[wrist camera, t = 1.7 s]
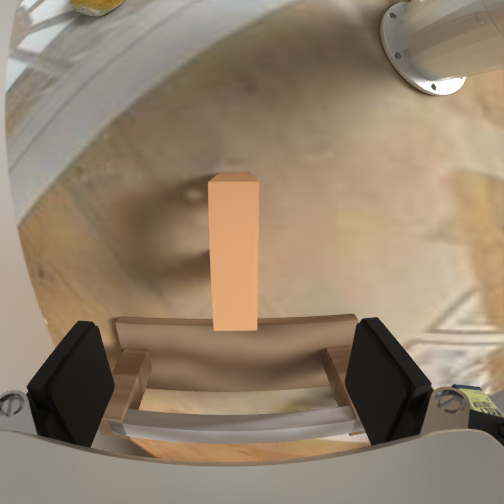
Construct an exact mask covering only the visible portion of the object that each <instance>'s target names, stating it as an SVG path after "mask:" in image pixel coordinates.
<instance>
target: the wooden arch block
mask: <svg viewBox="0 0 504 504" xmlns="http://www.w3.org/2000/svg"><path fill="white" fill-rule="evenodd" d="M208 209H209V244H210V270H211V291H212V310H213V327H214V331H253V330H257V312H258V241H259V181H258V180H257V179H256V178H255V177H254V176H253V175H252V174H251V173H218V174H217V175H216V176H215V177H214V178H212V179H211V180H210V181H209V182H208Z"/></svg>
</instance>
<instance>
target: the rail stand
mask: <svg viewBox="0 0 504 504" xmlns="http://www.w3.org/2000/svg"><path fill="white" fill-rule="evenodd" d="M357 323H358V319H357V317H356V316H355V315H354V314H347V315H332V316H315V317H294V318H265V319H257V330H253V331H214V327H213V319H165V318H136V317H119V318H118V319H117V321H116V322H115V324H116V329H117V333H118V337H119V341H120V346H121V349H122V354H121V356H120V358H119V360H118V362H117V364H116V366H115V368H114V370H113V372H112V376H113V380H114V384H115V388H114V392H113V394H112V396H111V399H110V401H109V403H108V406H107V408H106V410H105V413H104V415H103V418H102V420H101V423H100V425H99V427H98V428H99V430H100V432H101V434H102V435H108V436H112V437H118V438H124V439H129V438H130V437H136V438H144V439H152V440H162V441H173V442H187V443H210V444H247V443H270V442H284V441H296V440H305V439H314V438H322V437H329V436H335V435H342V434H347V433H349V435H350V436H352V435H357V434H362V433H366V431H365V429H364V427H363V425H362V423H361V420H360V418H359V416H358V414H357V412H356V409H355V407H354V405H353V403H352V401H351V399H350V396H349V394H348V392H347V390H346V387H345V377H346V372H347V368H348V363H349V359H350V354H351V349H352V344H353V339H354V334H355V328H356V325H357ZM322 386H331V388H332V391H333V393H334V396H335V398H336V401H337V404H338V406H339V407H337V408H329V409H321V410H312V411H303V412H291V413H277V414H257V415H197V414H177V413H163V412H152V411H142V410H138V409H139V406H140V403H141V400H142V397H143V394H144V391H145V388H150V389H163V390H180V391H211V392H239V391H270V390H287V389H301V388H312V387H322Z"/></svg>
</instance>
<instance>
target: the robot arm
mask: <svg viewBox="0 0 504 504" xmlns="http://www.w3.org/2000/svg"><path fill="white" fill-rule="evenodd" d="M380 35H381V41H382V44H383V47H384V50H385V52H386V54H387V56H388V58H389V60H390V61H391V63H392V65H393V66H394V67H395V69H396V70H397V71H398V72H399V74H400V75H401V76H402V77H403V78H404V79H405V80H406V81H407V82H409V83H410V84H411V85H413V86H414V87H415V88H417V89H419V90H421V91H422V92H424V93H427V94H430V95H436V96H443V95H448V94H452V93H454V92H456V91H457V90H458V89H459V88H460V87H461V86H462V84H463V82H464V80H465V77H468V76H472V75H477V74H482V73H486V72H491V71H496V70H501V69H504V0H413V1H411V2H402V3H397V4H395V5H393V6H392V7H391V8H389V9H388V10H387V11H386V12H385V14H384V15H383V17H382V20H381V24H380ZM431 384H432V383H431V382H430V381H429V379H428V378H427V377H426V376H425V374H424V373H423V372H422V371H421V369H420V368H419V367H418V366H417V364H416V363H415V362H414V361H413V359H412V358H411V357H410V356H409V354H408V353H407V352H406V351H405V350H404V348H403V347H402V346H401V345H400V343H399V342H398V341H397V340H396V339H395V337H394V336H393V335H392V334H391V333H390V331H389V330H388V329H387V328H386V327H385V325H384V324H383V323H382V322H381V321H380V320H379V318H377V317H374V318H364V319H362V320H361V322H360V323H357V325H356V328H355V334H354V339H353V344H352V349H351V354H350V359H349V363H348V368H347V372H346V377H345V387H346V390H347V392H348V394H349V396H350V399H351V401H352V403H353V405H354V407H355V409H356V412H357V414H358V416H359V418H360V420H361V423H362V425H363V427H364V429H365V431H366V434H367V436H368V438H369V440H370V443H371V445H372V446H368V447H363V448H358V449H353V450H348V451H343V452H337V453H331V454H325V455H318V456H311V457H302V458H293V459H283V460H270V461H252V462H198V461H180V460H168V459H157V458H147V457H140V456H133V455H126V454H120V453H114V452H108V451H103V450H98V449H93V448H91V445H92V442H93V440H94V437H95V435H96V432H97V430H98V427H99V425H100V423H101V420H102V418H103V415H104V413H105V410H106V408H107V406H108V403H109V401H110V399H111V396H112V394H113V392H114V388H115V384H114V380H113V376H112V373H111V370H110V367H109V363H108V360H107V357H106V353H105V349H104V346H103V342H102V338H101V334H100V330H99V328H98V326H95V324H94V323H93V322H90V321H78V322H77V323H76V324H75V325H74V326H73V327H72V329H71V330H70V331H69V332H68V333H67V335H66V336H65V337H64V338H63V340H62V341H61V342H60V343H59V345H58V346H57V347H56V348H55V350H54V351H53V352H52V354H51V355H50V356H49V357H48V359H47V360H46V361H45V363H44V364H43V365H42V366H41V368H40V369H39V370H38V372H37V373H36V374H35V376H34V377H33V378H32V380H31V381H30V383H29V384H28V385H27V389H28V393H27V394H26V395H25V394H24V393H23V392H21V391H17V390H11V391H7V392H5V393H3V394H1V395H0V504H504V418H503V417H499V416H495V415H491V414H487V413H483V412H480V411H476V410H472V409H470V401H469V399H468V397H467V395H466V394H465V393H464V392H462V391H461V390H459V389H456V388H454V387H440V388H438V389H436V390H435V391H434V389H433V388H432V387H431Z"/></svg>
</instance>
